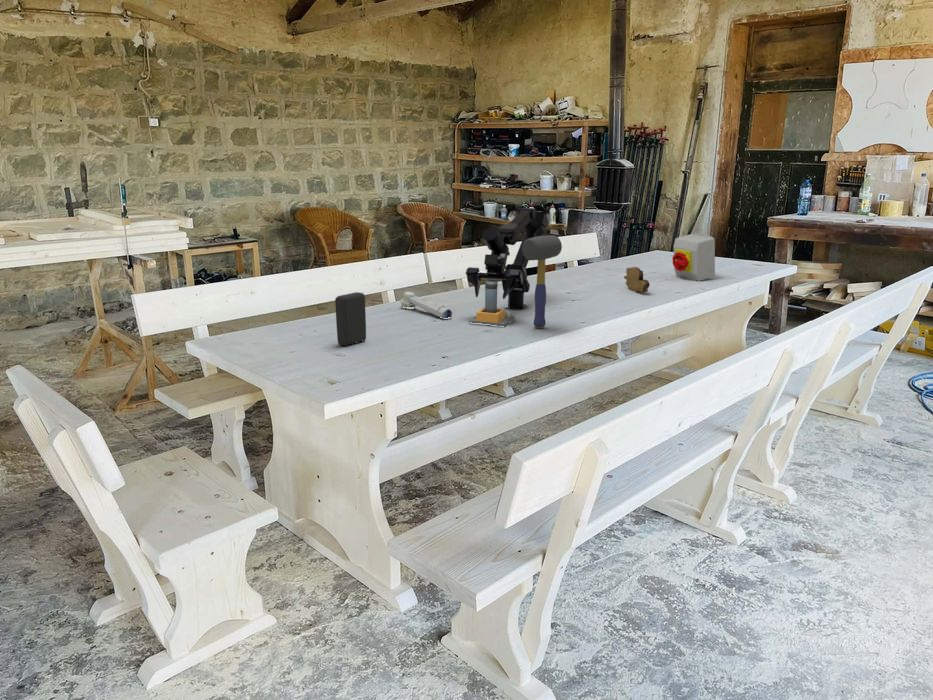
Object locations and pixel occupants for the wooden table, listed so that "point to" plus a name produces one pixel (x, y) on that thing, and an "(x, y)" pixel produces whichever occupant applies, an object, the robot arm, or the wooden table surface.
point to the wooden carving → (636, 280)
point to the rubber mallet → (541, 269)
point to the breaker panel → (493, 317)
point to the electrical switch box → (694, 256)
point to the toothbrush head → (425, 305)
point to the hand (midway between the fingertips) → (489, 297)
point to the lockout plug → (491, 296)
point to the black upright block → (350, 318)
